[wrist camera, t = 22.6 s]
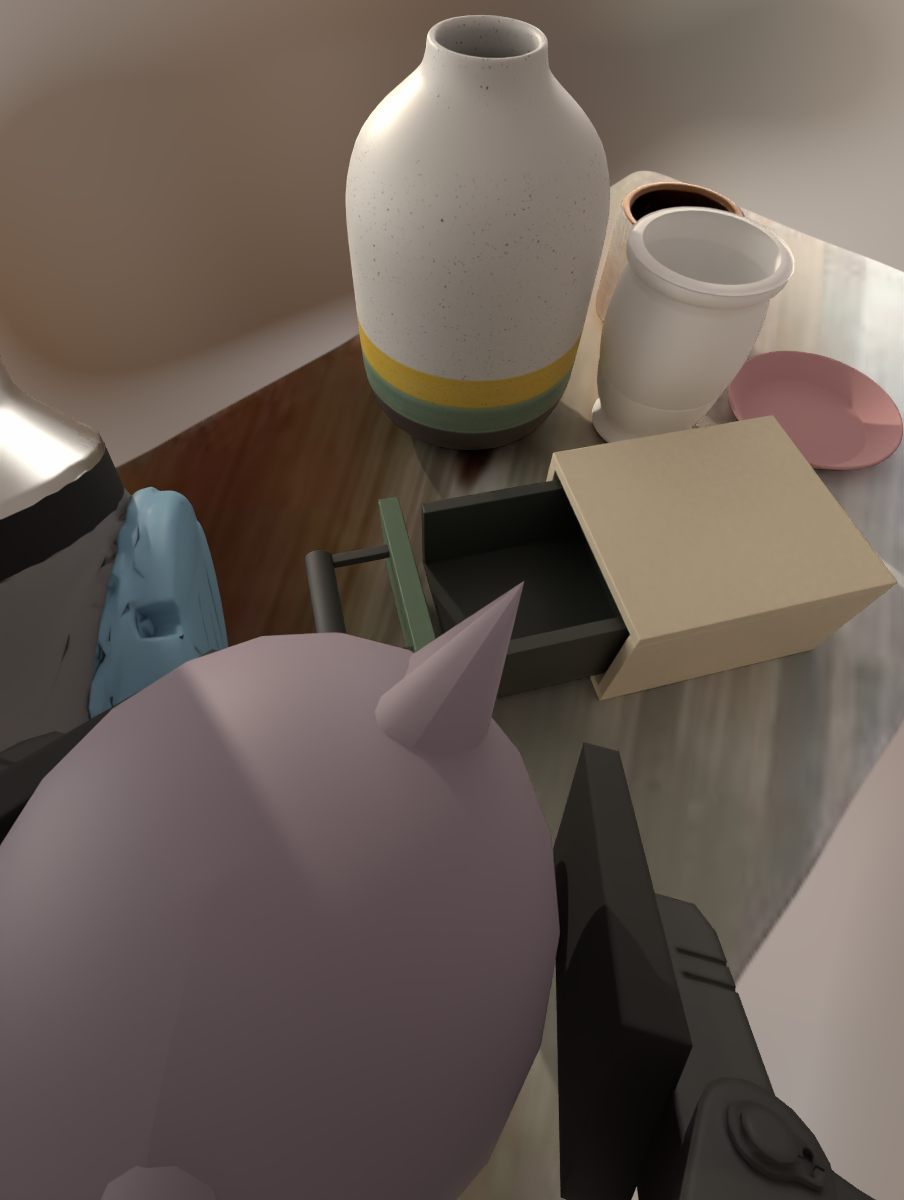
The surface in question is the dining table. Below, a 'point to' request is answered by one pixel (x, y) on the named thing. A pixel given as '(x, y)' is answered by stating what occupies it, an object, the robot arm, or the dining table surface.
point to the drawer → (494, 581)
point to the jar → (683, 318)
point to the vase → (475, 236)
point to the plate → (819, 408)
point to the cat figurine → (278, 931)
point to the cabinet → (716, 550)
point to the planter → (641, 205)
